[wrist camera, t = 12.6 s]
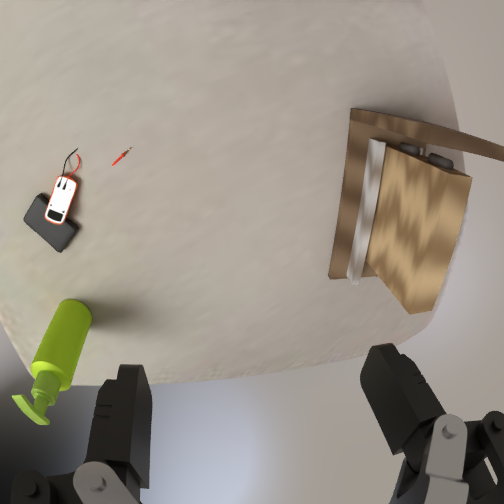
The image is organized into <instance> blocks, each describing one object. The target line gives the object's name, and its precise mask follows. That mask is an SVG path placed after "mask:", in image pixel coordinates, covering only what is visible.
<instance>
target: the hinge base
mask: <svg viewBox="0 0 504 504" xmlns="http://www.w3.org/2000/svg"><path fill="white" fill-rule="evenodd" d="M401 142H405V143H408V144H411V145H413V146H416V147H419V148H420V154H421V155H423V156H425V150H426V143H428V144H432V145H437V146H442V147H447V148H452V149H456V150H460V151H465V152H469V153H473V154H478V155H481V156H485V157H489V158H493V159H497V160H500V161H504V147H503V146H500V145H498V144H495V143H492V142H490V141H487V140H484V139H481V138H478V137H475V136H472V135H468V134H466V133H462V132H459V131H456V130H452V129H449V128H446V127H442V126H438V125H435V124H431V123H427V122H423V121H419V120H414V119H410V118H405V117H400V116H395V115H390V114H384V113H378V112H373V111H366V110H360V109H353V108H351V112H350V124H349V134H348V143H347V152H346V161H345V169H344V177H343V185H342V193H341V200H340V207H339V213H338V220H337V226H336V233H335V239H334V245H333V251H332V257H331V262H330V268H329V273H328V276H329V278H330V279H344V278H348V279H349V280H350V281H351V283H352V284H353V285H358V284H359V283H360V279H361V277H371V276H378V275H377V274H376V273H375V271H374V270H373V269H372V268H371V267H370V265H369V264H368V263H367V262H366V261H365V257H366V253H367V248H368V244H369V239H370V234H371V229H372V224H373V219H374V214H375V209H376V203H377V198H378V192H379V186H380V180H381V173H382V167H383V160H384V153H385V145H386V144H387V145H394V146H399V144H400V143H401Z"/></svg>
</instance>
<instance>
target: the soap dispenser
mask: <svg viewBox="0 0 504 504" xmlns="http://www.w3.org/2000/svg"><path fill="white" fill-rule="evenodd" d="M91 322H92V315H91V313H90V311H89V309H88V308H87V307H86V306H85V305H84V304H83V303H81V302H79V301H77V300H73V299H67V300H64V301H62V302H61V303H60V305H59V307H58V309H57V311H56V313H55V315H54V317H53V319H52V321H51V323H50V325H49V327H48V329H47V331H46V333H45V335H44V337H43V339H42V342H41V344H40V346H39V348H38V351H37V353H36V355H35V357H34V360H33V362H32V364H31V372H32V374H33V376H34V377H35V379H36V380H35V382H34V385H33V388H32V391H31V393H32V396H33V397H34V398H35V402H34V405H31V403H30V402H29V401H28V399H27V398H26V396H25V395H12V397H13V399H14V400H15V402H16V403H17V405H18V406H19V407H20V409H21V410H22V411H23V412H24V413H25V414H26V415H27V416H28V417H29V418H31V419H32V420H33V421H34V422H36V423H37V424H39V425H49V422H50V421H49V420H48V419H47V418H46V417H45V413H46V409H47V406H48V405H50V406H51V405H54V404H55V402H56V399H57V396H58V392H59V391H64V390H67V389H68V388H69V387H70V385H71V382H72V379H73V375H74V372H75V369H76V366H77V363H78V359H79V356H80V353H81V350H82V347H83V344H84V341H85V339H86V336H87V333H88V330H89V327H90V324H91Z"/></svg>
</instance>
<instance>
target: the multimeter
mask: <svg viewBox="0 0 504 504" xmlns="http://www.w3.org/2000/svg"><path fill="white" fill-rule="evenodd" d="M77 149H78V148H77ZM77 149H76V150H77ZM76 150H75V151H76ZM128 150H129V149H128ZM128 150H127V151H128ZM75 151H74V152H75ZM127 151H126V152H124V153H123V154H122V155H121V156H120V157H119V158H118V159H117V160H116V161H115V162H114V163H113V164H112V166H113V165H115V164H116V163H117V162H118V161H119V160H120V159H121V158H122V157H124V155H125V154H126V153H127ZM74 152H72V153H71V154H70V155H72V154H73V153H74ZM70 155H69V156H70ZM76 155H77V156H78V154H76ZM69 156H68V157H69ZM68 157H67V159H68ZM67 159H66V161H67ZM78 159H79V156H78ZM66 161H65V164H66ZM65 164H64V168H65ZM79 165H80V159H79ZM79 165H78V167H79ZM78 167H77V169H78ZM77 169H76V170H77ZM76 170H75V171H76ZM75 171H74V172H75ZM74 172H72V173H71V174H70V175H69V177H68V176H63V174H62V176H58V177H57V179H56V182H55V185H54V188H53V192H52V195H51V197H50V200H48V199H47V198H46V197H45V196H44V195H43V194H39V195H37V196H36V198H35V200H34V201H33V203H32V205H31V206H30V208H29V210H28V211H27V213H26V215H25V217H24V222H25V223H26V224H27V225H28V226H29V227H31V228H32V229H33V230H34V231H35V232H37V233H38V234H39V235H40V236H41V237H42V238H43V239H44V240H46V241H47V242H48V243H49V244H50V245H51V246H52V247H53V248H54V249H55V250H56V251H58V252H60V253H61V252H62V251H63V250H64V248H65V247H66V245H67V244H68V243H69V241H70V240H71V238H72V237H73V236H74V234H75V233H76V232H77V230H78V229H79V227H78V226H77V225H76V224H75V223H74V222H73V221H71V220H70V219H69V218H68V217H66V216H67V214H68V211H69V208H70V205H71V203H72V200H73V197H74V195H75V193H76V190H77V187H78V183H77V182H76V181H75V180H74V179H72V178H70V176H71V175H72V174H73V173H74ZM63 173H64V169H63Z"/></svg>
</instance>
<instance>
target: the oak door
mask: <svg viewBox="0 0 504 504" xmlns="http://www.w3.org/2000/svg"><path fill="white" fill-rule="evenodd" d="M453 166H454V164H453V162H452V161H451V160H449V159H446V158H444V157H442V156H439V155H437V154H434V153H431V154H430V155H429V156H428V157H426V156H423V155H421V154H420V148H419V147H416V146H413V145H411V144H408V143H405V142H401V143H400V144H399V146H394V145H387V144H386V145H385V153H384V160H383V167H382V173H381V180H380V186H379V192H378V198H377V203H376V209H375V214H374V219H373V224H372V229H371V234H370V239H369V244H368V248H367V253H366V257H365V261H366V262H367V263H368V264H369V265H370V267H371V268H372V269H373V270H374V271H375V273H376V274H377V275H378V276H379V277H380V279H381V280H382V281H383V282H384V283H385V285H386V286H387V287H388V288H389V290H390V291H391V292H392V293H393V295H394V296H395V297H396V298H397V300H398V301H399V302H400V303H401V305H402V306H403V307H404V308H405V310H406V311H407V312H408V314H415V313H421V312H426V311H432V309H433V306H434V304H435V301H436V299H437V296H438V293H439V291H440V288H441V285H442V283H443V280H444V277H445V274H446V271H447V269H448V266H449V263H450V260H451V257H452V253H453V250H454V247H455V244H456V241H457V237H458V234H459V230H460V227H461V223H462V219H463V216H464V212H465V208H466V204H467V200H468V196H469V190H470V187H471V182H472V177H470V176H468V175H466V174H464V173H462V172H460V171H458V170H455V169H453Z"/></svg>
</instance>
